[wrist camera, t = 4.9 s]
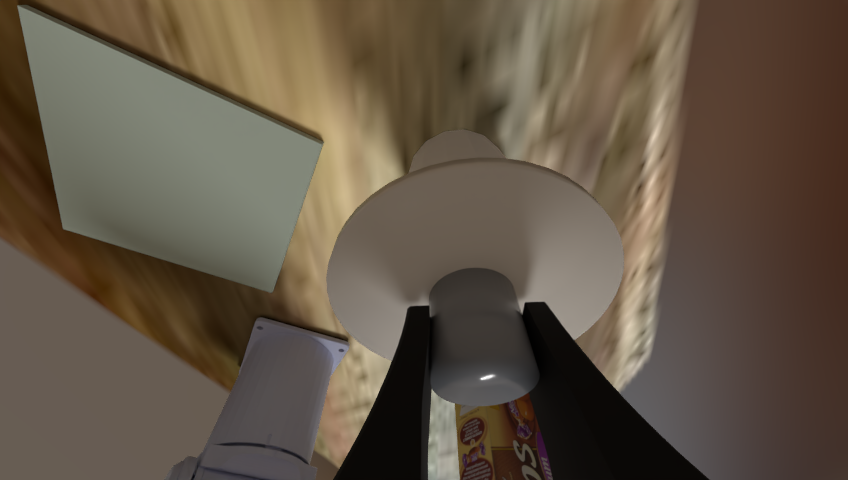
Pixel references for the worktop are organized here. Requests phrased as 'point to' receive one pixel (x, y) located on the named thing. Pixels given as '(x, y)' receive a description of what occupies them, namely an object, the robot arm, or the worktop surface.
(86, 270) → the worktop surface
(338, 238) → the lid
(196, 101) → the mat
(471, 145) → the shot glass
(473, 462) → the candy box
